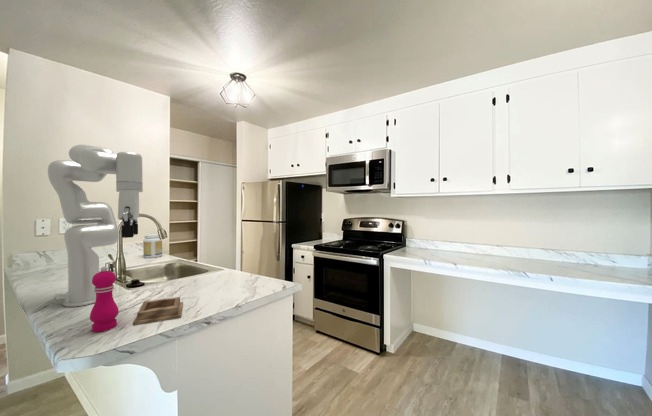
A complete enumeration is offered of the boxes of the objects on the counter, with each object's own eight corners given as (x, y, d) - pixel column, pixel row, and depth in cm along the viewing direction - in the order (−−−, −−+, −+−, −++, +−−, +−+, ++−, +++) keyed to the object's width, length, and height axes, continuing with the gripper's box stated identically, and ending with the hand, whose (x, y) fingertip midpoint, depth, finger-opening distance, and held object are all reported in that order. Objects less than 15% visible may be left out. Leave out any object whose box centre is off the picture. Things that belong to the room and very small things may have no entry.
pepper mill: (102, 334, 83) (101, 269, 83) (83, 331, 84) (83, 268, 84) (124, 323, 90) (123, 264, 90) (106, 321, 91) (106, 263, 91)
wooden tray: (133, 325, 89) (133, 314, 89) (141, 310, 101) (141, 301, 101) (181, 317, 95) (180, 307, 95) (183, 304, 107) (183, 295, 107)
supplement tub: (161, 254, 213) (160, 233, 213) (163, 257, 204) (163, 234, 204) (142, 256, 206) (142, 234, 205) (144, 259, 196) (144, 236, 196)
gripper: (121, 188, 101) (122, 234, 101) (110, 185, 85) (111, 239, 86) (145, 189, 104) (146, 233, 104) (138, 186, 89) (139, 238, 89)
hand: (130, 236), depth 95 cm, fingers open, 9 cm apart
